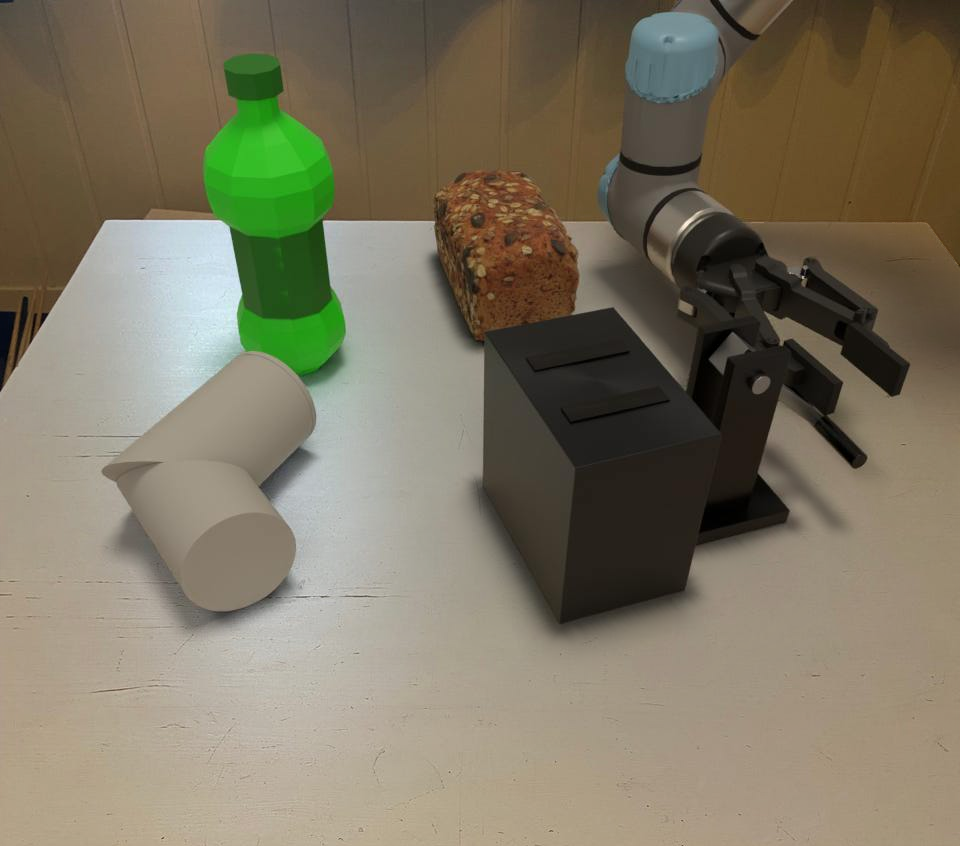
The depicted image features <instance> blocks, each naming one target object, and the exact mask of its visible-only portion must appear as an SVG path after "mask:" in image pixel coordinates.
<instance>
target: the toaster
mask: <svg viewBox="0 0 960 846" xmlns="http://www.w3.org/2000/svg"><path fill="white" fill-rule="evenodd" d="M483 344H484V345H483V347H484V348H483V361H484V362H483V427H482V428H483V429H482V431H483V432H482V434H483V435H482V436H483V437H482V439H483V440H482V488H483V489H484V491H485V493H486V494H487V497H488V498H489V500H490V502H491V503H492V505H493V507H494V509H495V510H496V512H497V514H498V516H499V518H500V520H501V522H502V523H503V525H504V526H505V529H506V530H507V532H508V534H509V536H510V538H511V540H512V541H513V543H514V545H515V546H516V548H517V550H518V552H519V553H520V555H521V557H522V559H523V560H524V563H525V564H526V566H527V568H528V570H529V571H530V573H531V575H532V576H533V578H534V580H535V582H536V584H537V585H538V587H539V589H540V591H541V592H542V595H543V596H544V598H545V600H546V601H547V604H548V605H549V607H550V609H551V611H552V612H553V614H554V616H555V619H556V620H557V621H558V623H559V624H565V623H568V622H571V621H575V620H579V619H582V618H586V617H591V616H594V615H599V614H601V613H605V612H609V611H613V610H616V609H619V608H624V607H627V606H631V605H634V604H638V603H642V602H646V601H649V600H654V599H657V598H661V597H665V596H668V595H671V594H675V593H680V592H683V591H685V590H686V587H687V583H688V579H689V575H690V571H691V568H692V567H691V566H692V562H693V558H694V554H695V551H696V550H695V549H696V546H697V545H696V542H697V537H698V533H699V529H700V525H701V521H702V516H703V512H704V508H705V504H706V500H707V495H708V491H709V487H710V483H711V478H712V474H713V470H714V466H715V462H716V457H717V453H718V449H719V445H720V440H721V436H722V434H721V433H720V432H719V430H718V429H717V428H716V427H715V426H714V425H713V423H712V422H711V421H710V420H709V419H708V417H707V416H706V415H705V414H704V413H703V412H702V410H701V409H700V408H699V407H698V406H697V405H696V403H695V402H694V401H693V400H692V399H691V398H690V396H689V395H688V394H687V393H686V390H685V389H684V388H683V387H682V386H681V384H680V383H679V382H678V381H677V380H676V379H675V377H673V375H672V374H671V372H669V370H668V369H667V368H666V367H665V366H664V364H662V362H661V361H660V360H659V359H658V358H657V356H656V355H655V354H654V353H653V352H652V351H651V349H650V348H649V347H648V346H647V345H646V343H645V342H644V341H643V340H642V339H641V338H640V336H639V335H638V334H637V333H636V332H635V331H634V329H633V328H632V327H631V325H629V324H628V322H627V321H626V320H625V319H624V318H623V317H622V315H621V314H620V313H619V312H618V311H617V310H616V309H615V307H614V306H612V307H607V308H601V309H596V310H591V311H586V312H580V313H576V314H571V315H570V316H564V317H559V318H554V319H549V320H543V321H538V322H533V323H528V324H523V325H517V326H512V327H507V328H502V329H497V330H491V331H486V332H485V335H484V343H483Z"/></svg>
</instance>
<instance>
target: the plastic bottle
mask: <svg viewBox="0 0 960 846" xmlns="http://www.w3.org/2000/svg"><path fill="white" fill-rule="evenodd" d="M222 64H223V71H224V77H225V83H226V88H227V89H226V90H227V95H228V96H229V97H232V98H234V99H236V100H235V101H236V106H237V112H236V114H235V115H233V117H232V118H231V119H230V120H229V121H228V122H226V124H225V125H224V126H223V127H222V128H221V129H220V130H219V132H218V133H217V134H216V136H215V137H214V138H213V139H212V141H210V143H209V144H208V145H207V147H206V148H205V151H204V156H203V163H202V170H203V171H202V172H203V182H204V188H205V193H206V198H207V202H208V204H209V206H210V208H211V211H212V213H213V215H214V217H215V218H217V219H218V220H220V221H221V222H222V223H223V224H225V225H226V226H228V228H229V233H230V237H231V243H232V247H233V252H234V259H235V264H236V268H237V269H236V270H237V275H238V281H239V285H240V290H241V296H240V299H239V302H238V306H237V310H236V320H237V329H238V335H239V341H240V344H241V346H242V347H243V349H244V350H245V352H248V351H258V352H263V353H266V354H269V355H271V356H273V357H275V358H277V359H279V360H280V361H282V362H283V363H285V364H286V365H287V366H288V367H289V368H291V369H292V370H293V371H294V372H295V373H296V374H297V376H298V377H301V376H304V375H307V374H310V373H313V372H317V371H318V370H319V369H320V368H321V367H322V366H323V365H324V364H325V363H326V362H327V361H328V360H329V359H330V358H331V357H332V356H333V355H334V353H336V352H337V350H338V349H340V347H341V346H342V344H343V343H344V340H345V336H346V333H347V327H346V320H345V319H346V318H345V315H344V311H343V307H342V303H341V300H340V299H339V297H338V295H337V294H336V292H335V290H334V289H333V288H332V286H331V279H330V271H329V264H328V254H327V245H326V237H325V228H324V220H323V218H324V217H325V215H326V214H327V213H328V212H329V210H330V209H331V208H332V207H333V205H334V200H335V191H336V190H335V189H336V187H335V178H334V170H333V167H332V163H331V160H330V156H329V153H328V151H327V149H326V147H325V144H324V143H323V141H322V139H321V138H320V137H319V136H317V135H316V134H315V133H314V132H312V131H311V130H310V129H309V128H307V127H306V126H305V125H304V124H302V123H301V122H300V121H298V120H297V119H295V118H294V117H292V116H291V115H290V114H288V113H286V112H284V111H283V110H282V109H281V108H280V104H279V97H278V96H279V95H281V94H282V93H284V91H285V90H284V82H283V75H282V74H283V73H282V67H281V62H280V59H279V58H278V57H276V56H273V55H270V54H268V53H245V54H244V53H243V54H239V55H234V56H231V57H229V58H228V59H226V60H224V61H223V62H222Z"/></svg>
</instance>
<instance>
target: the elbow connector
mask: <svg viewBox="0 0 960 846" xmlns="http://www.w3.org/2000/svg"><path fill="white" fill-rule="evenodd" d="M316 425H317V410H316V406H315V403H314V399H313V397H312V395H311V394H310V391H309V389H308V387H307V386H306V384H305V383H304V382H303V380H302V379H301V378H300V376H297V374H296V373H295V372H294V371H293V370H292V369H291V368H289V367H288V366H287V365H286V364H285V363H283V362H282V361H280V360H279V359H277V358H275V357H273V356H271V355H269V354H266V353H263V352H258V351H248V352H246V351H244V352H241V353H239V354H238V355H237V356H235V357H234V358H233V359H232V360H231V361H230V362H228V363H227V364H225V366H223V367H222V368H221V369H220V370H218V371H217V372H216V373H215V374H213V376H211V377H210V378H209V379H207V381H205V382H204V383H203V384H202V385H200V386H199V387H198V388H197V389H196V390H195V391H193V392H192V393H191V394H190V395H188V397H185V399H184V400H182V401H181V402H180V403H179V404H178V405H176V406H175V407H174V408H173V409H172V410H171V411H169V412H168V413H167V414H165V416H164V417H162V418H161V419H160V420H159V421H158V422H156V423H155V424H153V426H152V427H150V428H149V429H148V430H147V431H146V432H144V433H143V434H142V435H140V436H139V437H138V438H137V439H136V440H135V441H134V442H132V443H131V444H130V445H129V446H128V447H126V448H125V449H123V451H122V452H120V453H119V454H118V455H117V456H116V457H114V458H113V459H112V460H111V461H110V462H108V463H107V464H106V465H105V466H103V467H102V468H101V471H100V472H101V474H102V476H103V477H105V478H106V479H108V480H111V481H112V482H115V484H116V487H117V488H118V490H119V491H120V492H121V495H122V496H123V498H124V499H125V501H126V502H127V504H128V505H129V507H130V509H131V511H132V512H133V513H134V515H135V516H136V518H137V520H138V521H139V523H140V524H141V526H142V528H143V530H144V531H145V532H146V534H147V537H149V539H150V541H151V542H152V544H153V546H154V547H155V549H156V550H157V551H158V553H159V555H160V556H161V558H162V560H163V561H164V563H165V564H166V566H167V568H168V569H169V571H170V572H171V574H172V575H173V577H174V579H175V580H176V582H177V583H178V585H179V586H180V588H181V590H182V591H183V593H184V594H185V596H186V597H187V598H188V599H189V601H191V602H192V603H193V604H194V605H196V606H197V607H199V608H202V609H204V610H208V611H211V612H212V611H213V612H232V611H236V610H241V609H244V608H247V607H249V606H253V605H254V604H256V603H257V602H260V601H262V600H263V599H265V598H266V597H268V596H269V595H270V594H271V593H272V592H274V591H275V590H277V588H278V587H279V586H280V585H281V584H282V582H283V581H284V580H285V578H286V577H287V576H288V574H289V572H290V571H291V568H292V566H293V564H294V561H295V559H296V552H297V541H296V538H295V534H294V532H293V530H292V528H291V527H290V525H289V524H288V523H287V522H286V520H285V519H284V517H283V516H282V515H281V514H280V512H279V511H278V510H277V509H276V507H275V506H274V504H272V502H271V501H270V499H269V498H268V497H267V496H266V495H265V493H264V492H263V491H262V489H261V488H260V486H261V485H262V484H263V483H264V482H265V481H266V480H268V478H269V477H270V476H272V474H273V473H274V472H275V471H276V470H277V469H278V468H280V466H281V465H282V464H283V463H285V461H286V460H287V459H289V457H291V456H292V455H293V453H294V452H295V451H297V449H299V447H300V446H302V444H304V442H305V441H307V440H308V438H310V436H311V435H312V434H313V433H314V431H315V428H316Z"/></svg>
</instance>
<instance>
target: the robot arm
mask: <svg viewBox="0 0 960 846" xmlns="http://www.w3.org/2000/svg"><path fill="white" fill-rule="evenodd" d="M793 1H794V0H678V1H677V2H676V4H675V5H674V6H673V7H672V8H671V9H670V11H667V12H659V13H658V12H657V13H654V14H652V15H650V16H649V17H644V18H642V19H640V20H639V21H638V22H637V23H636V24H635V26H634V27H633V29H632V31H631V36H630V43H629V49H628V57H627V60H626V61H625V66H624V67H625V68H624V74H625V87H624V89H625V90H624V100H623V101H624V102H623V115H622V127H621V140H620V150H619V153H618V154H617V155H616V156H614V157H613V159H611V160H610V161H609V163H608V164H607V165H606V167H605V170H604V172H603V174H602V177H601V178H600V179H599V182H598V186H597V190H596V191H597V193H596V194H597V197H596V198H597V204H598V208H599V210H600V213H601V214H602V216H603V217H604V219H605V220H606V221H607V222H608V223H609V224H610V226H611V228H613V231H614V232H615V233H616V234H617V236H618V237H620V238H621V239H623V241H626V242H627V243H629V244H630V245H631V246H632V247H634V249H636V250H637V251H638V252H640V254H642V255H643V256H644V257H645V258H646V259H647V260H648V261H649V262H650V263H651V264H652V265H653V266H654V267H656V268H657V269H658V270H659V271H660V272H661V273H662V274H663V275H664V276H665V277H666V278H667V279H669V281H671V282H672V283H673V284H674V285H675V286H676V287H677V288H678V289H679V295H678V302H677V310H676V317H677V318H678V319H679V320H681V321H683V322H686V323H687V324H689V325H691V326H693V327H694V328H695V329H696V330H697V331H698V327H699V326H703V325H708V324H713V323H718V322H723V321H728V320H733V319H738V318H743V317H748V316H753V315H754V316H755V317H756V318H757V319H758V320H759V321H760V322H761V324H760V328H759V332H758V336H757V340H756V344H755V348H754V349H755V350H756V351H758V350H763V349H768V348H772V347H777V346H781V344H780V343H781V338H780V336H779V334H778V333H777V332H776V329H775V328H774V326H773V325H772V323H771V321H770V320H769V318H768V316H767V315H766V313H767V314H768V315H771V316H772V317H775V318H776V319H777V320H784V319H786V318H788V319H790V320H791V321H793V322H795V323H798V324H799V325H801V326H803V327H804V328H806V329H809V330H811V331H812V332H814V333H815V334H818V335H820V336H822V337H823V338H826V339H828V340H829V341H831V342H833V343H835V344H837V345H839V346H840V347H841V350H840V354H839V355H841V356H842V357H843V358H844V359H845V360H847V361H848V362H849V363H850V364H851V365H852V366H853V367H855V368H857V370H858V371H860V372H861V373H862V374H863V375H864V376H865V377H867V378H868V379H869V380H870V381H872V382H873V383H874V384H875V385H876V386H878V387H879V388H880V389H881V390H882V391H883V392H885V393H886V394H887V395H888V396H890V398H893V397H897V396H900V395H901V393H902V390H903V386H904V385H905V381H906V378H907V375H908V372H909V370H910V367H911V362H909V361H907V360H906V359H905V358H904V357H902V356H901V355H900V354H899V353H897V352H896V351H895V350H893V348H891V346H890V344H889V342H888V341H886V339H884V338H882V337H881V336H880V335H879V334H878V333H876V332H875V331H874V330H873V329H874V326H875V323H876V320H877V317H878V313H879V308H878V307H876V306H875V305H874V304H872V303H871V302H870V301H868V300H867V299H865V298H864V297H863V296H862V295H860V294H858V293H857V292H855V291H854V290H853V289H852V288H850V287H849V286H848V285H846V284H844V283H843V282H841V281H840V280H839V279H837V278H836V277H835V276H833V275H832V274H830V273H829V272H827V271H826V270H825V269H824V268H823V266H822V264H821V262H820V261H819V259H818V258H815V257H812V256H811V257H810V256H808V257H805V258H804V259H803V263H802V266H789V267H788V266H787V265H786V263H785V262H783V261H782V260H779V259H776V258H773V257H771V256H770V255H769V254H768V253H769V252H768V251H767V249H766V246H765V244H764V241H763V239H762V237H761V235H759V233H758V232H756V231H755V230H754V229H753V228H751V227H750V226H749V225H748V224H746V223H745V222H744V221H742V220H741V219H739V218H738V216H736V215H734V214H733V212H732V211H731V210H729V209H728V208H726V206H724V205H722V204H721V203H720V202H719V201H717V200H716V199H714V198H713V197H712V196H711V195H709V194H707V192H705V191H704V190H703V189H702V188H700V187H699V186H698V181H699V175H700V169H701V163H702V157H703V148H704V143H705V137H706V129H707V126H708V125H707V124H708V118H709V112H710V109H711V108H710V107H711V104H712V102H713V100H714V98H715V96H716V94H717V92H718V89H719V88H720V86H721V84H722V83H723V80H724V78H725V76H726V74H727V73H728V72H729V71H730V70H731V69H732V67H733V66H734V65H735V64H736V63H737V62H738V61H739V60H740V59H741V58H742V56H743V55H745V53H747V51H748V50H749V49H750V48H751V47H752V46H753V45H754V44H755V43H756V41H757V40H758V39H759V38H760V36H762V34H763V33H764V32H765V31H766V30H767V29H768V28H769V26H770V25H771V24H772V23H773V22H774V21H775V20H777V18H778V17H779V16H780V15H781V14H782V13H783V12H784V10H786V8H787V7H788V6H790V4H791V3H792V2H793ZM782 345H784V346H785V347H786V348H788V349H789V350H790V351H791V356H790V360H789V363H788V367H787V371H786V374H785V378H784V381H783V383H784V384H785V385H787V386H789V387H795V388H796V389H797V390H798V391H799V392H800V393H801V394H803V395H804V396H805V397H806V398H807V399H808V400H809V401H810V402H811V403H812V404H814V405H815V406H816V407H817V408H818V409H819V410H820V411H821V412H822V413H823V414H824V415H828V416H829V415H832V414H835V411H836V408H837V404H838V401H839V398H840V395H841V392H842V388H843V385H844V381H842V380H841V379H840V378H839V377H838V376H837V375H836V374H835V373H834V372H832V371H831V370H829V369H828V367H826V366H825V365H824V364H823V363H822V362H820V361H819V360H818V359H817V358H816V357H815V356H813V355H812V354H811V353H810V352H809V351H808V350H807V349H805V348H804V347H803V346H802V345H801V344H799V343H798V342H797V341H796V340H795V339H794V338H788V339H785V340H783V342H782Z"/></svg>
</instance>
